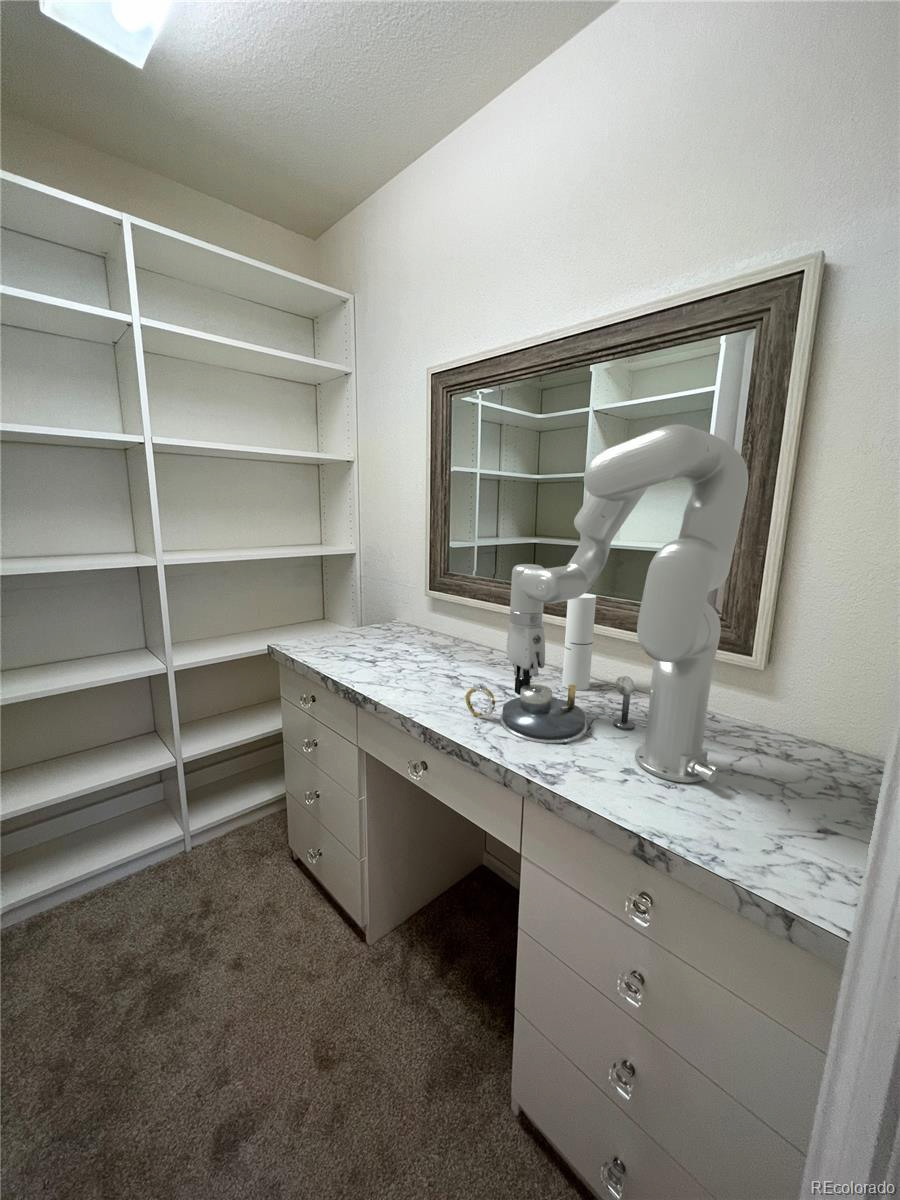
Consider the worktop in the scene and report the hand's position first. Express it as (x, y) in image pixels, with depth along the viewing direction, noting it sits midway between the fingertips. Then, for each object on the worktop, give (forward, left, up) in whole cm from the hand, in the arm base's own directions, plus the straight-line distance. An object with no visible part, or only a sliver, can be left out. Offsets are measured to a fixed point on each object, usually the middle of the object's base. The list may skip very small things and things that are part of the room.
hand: (522, 692), depth 112 cm
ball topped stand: (-17, -16, -4) cm, 24 cm away
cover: (-6, 0, -1) cm, 6 cm away
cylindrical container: (+7, -22, -4) cm, 24 cm away
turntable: (-9, 0, -4) cm, 9 cm away
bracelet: (-1, +12, -4) cm, 12 cm away
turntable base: (-9, 0, -4) cm, 9 cm away
